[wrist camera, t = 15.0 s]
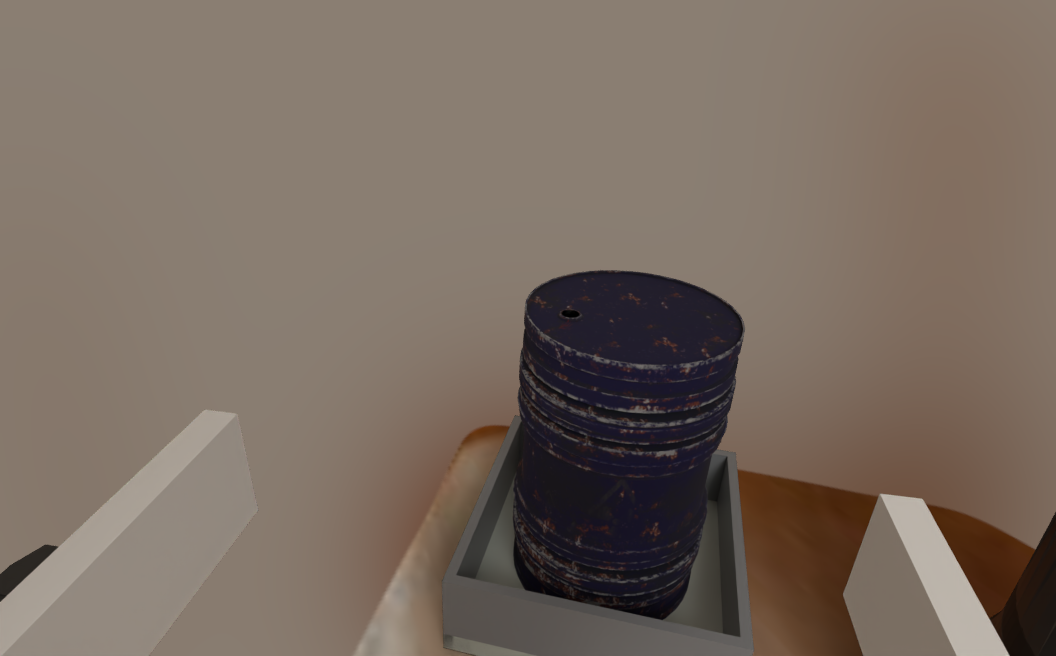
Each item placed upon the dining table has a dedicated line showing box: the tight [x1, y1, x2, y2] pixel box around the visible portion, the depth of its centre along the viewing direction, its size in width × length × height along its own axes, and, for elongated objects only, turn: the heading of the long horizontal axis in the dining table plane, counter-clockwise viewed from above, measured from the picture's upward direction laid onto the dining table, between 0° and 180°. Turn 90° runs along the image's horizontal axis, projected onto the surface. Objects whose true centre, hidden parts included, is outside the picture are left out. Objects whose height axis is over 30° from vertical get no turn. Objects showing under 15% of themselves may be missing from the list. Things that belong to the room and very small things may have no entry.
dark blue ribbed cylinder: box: [513, 270, 745, 620], centre depth 32 cm, size 10×10×15 cm
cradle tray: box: [442, 415, 754, 656], centre depth 35 cm, size 14×14×4 cm
